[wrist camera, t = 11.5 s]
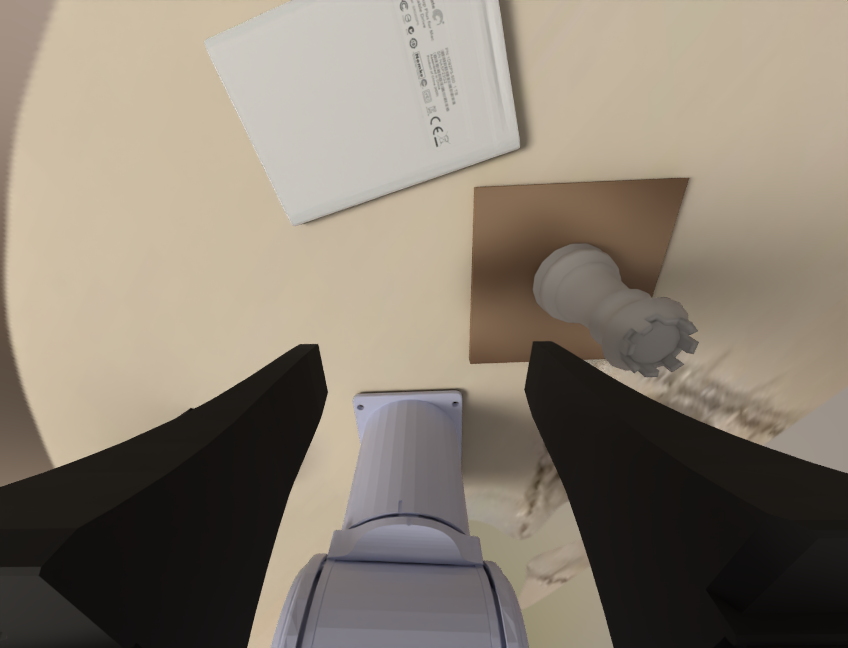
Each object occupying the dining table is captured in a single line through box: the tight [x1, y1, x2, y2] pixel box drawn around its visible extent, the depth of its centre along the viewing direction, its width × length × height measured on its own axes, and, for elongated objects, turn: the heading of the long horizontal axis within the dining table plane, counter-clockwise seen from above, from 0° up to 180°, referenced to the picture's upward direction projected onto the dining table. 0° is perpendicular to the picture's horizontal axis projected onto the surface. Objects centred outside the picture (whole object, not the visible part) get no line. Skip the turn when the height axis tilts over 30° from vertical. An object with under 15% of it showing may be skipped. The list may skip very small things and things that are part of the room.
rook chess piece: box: [533, 243, 699, 377], centre depth 15 cm, size 4×4×8 cm
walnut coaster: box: [469, 178, 689, 364], centre depth 19 cm, size 11×11×1 cm
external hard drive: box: [204, 0, 520, 226], centre depth 15 cm, size 2×8×12 cm
